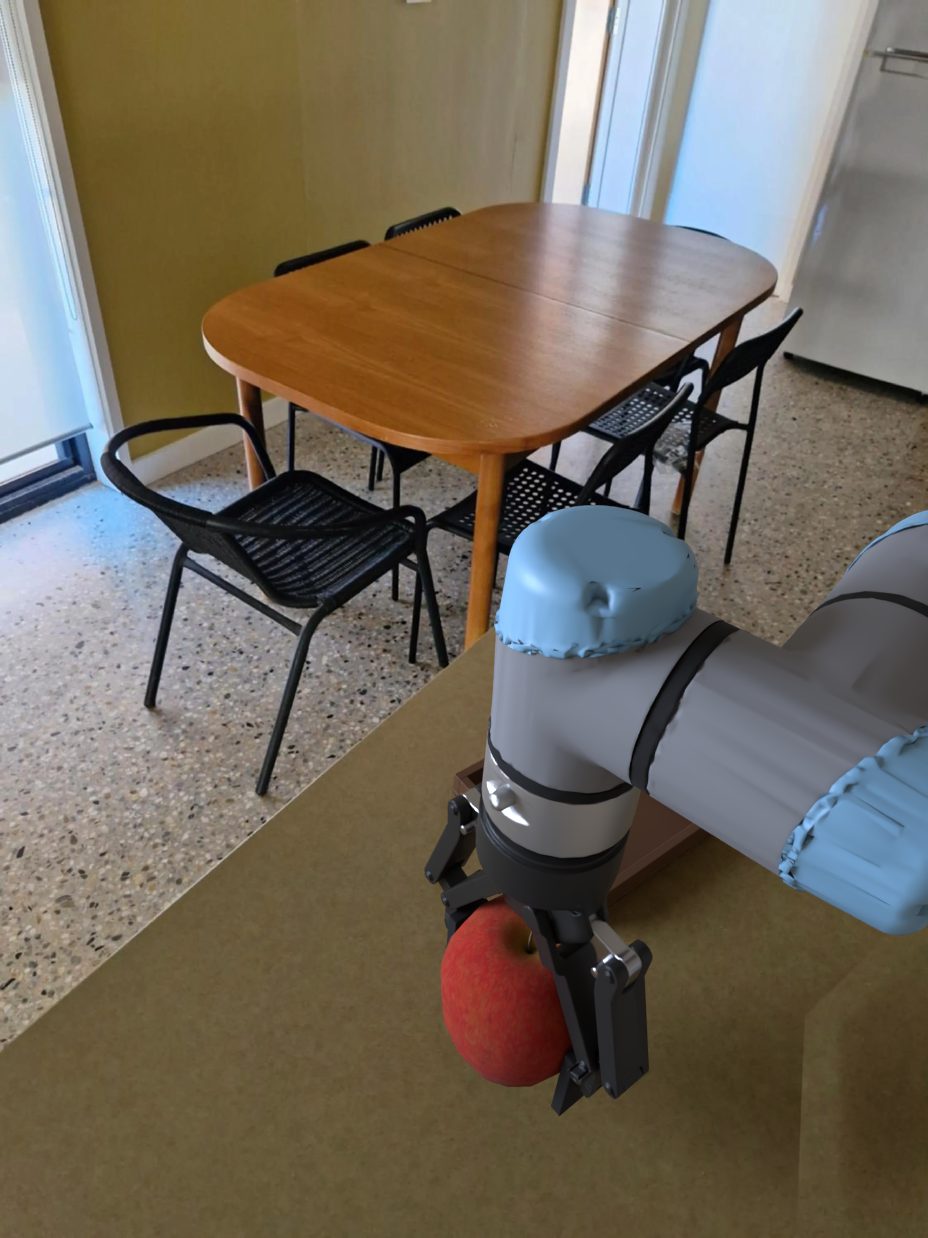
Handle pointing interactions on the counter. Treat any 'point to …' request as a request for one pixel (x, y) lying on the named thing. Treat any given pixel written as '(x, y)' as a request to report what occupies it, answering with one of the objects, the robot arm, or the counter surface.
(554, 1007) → the apple
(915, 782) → the robot arm
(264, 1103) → the counter surface
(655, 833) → the tray
